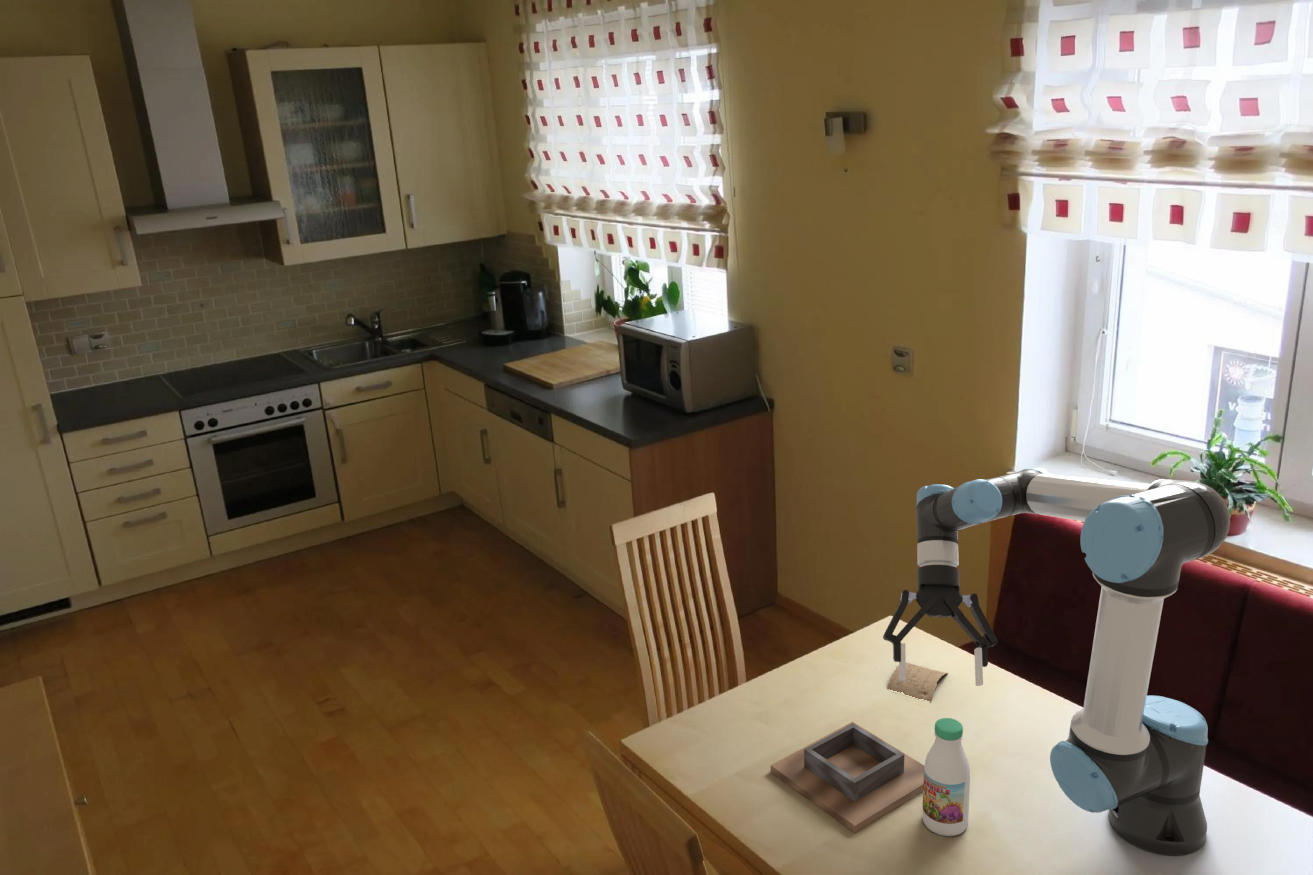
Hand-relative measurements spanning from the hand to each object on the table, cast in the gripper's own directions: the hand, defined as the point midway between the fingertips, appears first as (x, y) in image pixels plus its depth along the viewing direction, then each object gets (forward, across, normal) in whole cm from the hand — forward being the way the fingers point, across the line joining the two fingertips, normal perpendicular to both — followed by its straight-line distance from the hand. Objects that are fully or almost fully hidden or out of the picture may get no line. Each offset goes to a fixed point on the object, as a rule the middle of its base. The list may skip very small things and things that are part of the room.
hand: (940, 682), depth 185 cm
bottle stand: (+17, +14, -12) cm, 25 cm away
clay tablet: (-4, -2, -38) cm, 38 cm away
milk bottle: (+24, 0, -2) cm, 24 cm away
